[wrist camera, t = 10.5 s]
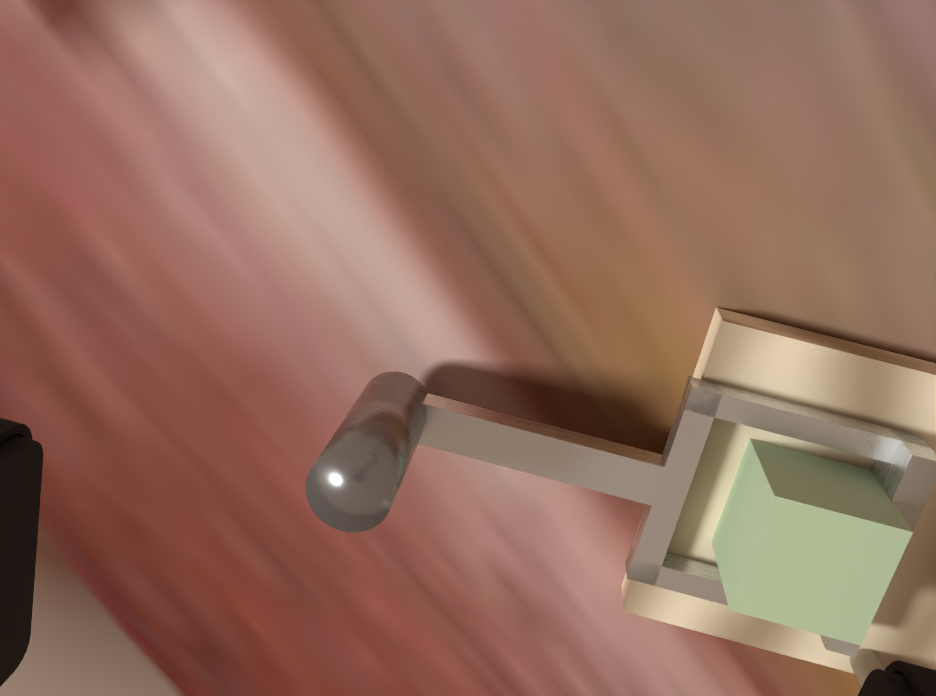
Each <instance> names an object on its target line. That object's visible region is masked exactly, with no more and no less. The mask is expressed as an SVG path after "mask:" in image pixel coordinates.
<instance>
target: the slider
mask: <svg viewBox="0 0 936 696" xmlns="http://www.w3.org/2000/svg"><path fill="white" fill-rule="evenodd" d="M714 418H718V419H722V420H726V421H730V422H734V423H738V424H741V425H745V426H749V427H753V428H757V429H761V430H765V431H768V432H772V433H776V434H780V435H784V436H788V437H791V438H795V439H799V440H803V441H807V442H811V443H815V444H818V445H822V446H826V447H830V448H834V449H838V450H841V451H845V452H849V453H853V454H857V455H861V456H865V457H868V458H872V459H876V463H875V465H874V467H873V470H872V473H873V475H874V476H875V478H876V479H877V481H878V482H879V483H880V485H881V486H882V488H883V489H884V491H885V492H886V494H887V495H888V496H889V498H890V499H891V501H892V502H893V504H894V505H895V507H896V508H897V510H898V511H899V512H900V514H901V515H902V517H903V518H904V520H905V521H906V523H907V524H908V525H909V527H910V528H911V530H912V531H913V530H914V528H915V526H916V524H917V522H918V520H919V517H920V515H921V513H922V511H923V509H924V507H925V504H926V502H927V500H928V498H929V496H930V494H931V491H932V489H933V487H934V485H935V483H936V453H935V452H934V451H933V450H932V449H931V447H930V446H929V445H928V444H927V443H926V442H925V441H924V440H923V438H922V437H921V436H919V435H915V434H911V433H907V432H903V431H899V430H895V429H892V428H888V427H884V426H880V425H876V424H872V423H868V422H864V421H861V420H857V419H853V418H849V417H845V416H841V415H837V414H833V413H830V412H826V411H822V410H818V409H814V408H810V407H806V406H802V405H799V404H795V403H791V402H787V401H783V400H779V399H775V398H771V397H768V396H764V395H760V394H756V393H752V392H748V391H744V390H740V389H737V388H733V387H729V386H725V385H721V384H717V383H713V382H709V381H706V380H702V379H698V378H694V377H690V376H689V377H688V380H687V383H686V386H685V389H684V392H683V395H682V398H681V401H680V404H679V407H678V410H677V413H676V416H675V419H674V421H673V424H672V427H671V430H670V433H669V436H668V439H667V442H666V445H665V448H664V451H663V454H658V453H654V452H650V451H646V450H643V449H639V448H635V447H631V446H627V445H624V444H620V443H616V442H612V441H608V440H605V439H601V438H597V437H593V436H589V435H586V434H582V433H578V432H574V431H570V430H566V429H563V428H559V427H555V426H551V425H547V424H544V423H540V422H536V421H532V420H528V419H525V418H521V417H517V416H513V415H509V414H505V413H502V412H498V411H494V410H490V409H486V408H483V407H479V406H475V405H471V404H467V403H464V402H460V401H456V400H452V399H448V398H444V397H441V396H437V395H433V394H429V393H427V391H426V389H425V388H424V386H423V385H422V384H421V383H420V382H419V381H418V380H416V379H415V378H413V377H412V376H410V375H408V374H405V373H401V372H386V373H383V374H380V375H378V376H376V377H374V378H373V379H372V380H371V381H370V382H369V383H368V384H367V385H366V387H365V388H364V390H363V391H362V393H361V395H360V396H359V398H358V399H357V401H356V402H355V404H354V405H353V407H352V408H351V410H350V411H349V413H348V414H347V416H346V417H345V419H344V420H343V422H342V423H341V425H340V426H339V428H338V429H337V431H336V432H335V434H334V436H333V437H332V439H331V440H330V442H329V443H328V445H327V446H326V448H325V449H324V451H323V452H322V454H321V455H320V457H319V458H318V460H317V461H316V463H315V464H314V466H313V467H312V469H311V471H310V472H309V475H308V477H307V481H306V496H307V500H308V503H309V505H310V507H311V508H312V510H313V512H314V513H315V514H316V515H317V517H319V518H320V519H321V520H322V521H323V522H324V523H326V524H327V525H329V526H331V527H333V528H335V529H338V530H341V531H345V532H361V531H366V530H369V529H371V528H373V527H375V526H377V525H378V524H379V523H381V522H382V521H383V519H384V518H385V517H386V516H387V514H388V512H389V510H390V508H391V505H392V503H393V501H394V498H395V496H396V494H397V491H398V489H399V487H400V484H401V482H402V480H403V477H404V475H405V473H406V470H407V468H408V466H409V463H410V461H411V459H412V456H413V454H414V452H415V449H416V447H417V445H418V444H421V445H425V446H429V447H432V448H436V449H440V450H444V451H447V452H451V453H455V454H459V455H463V456H466V457H470V458H474V459H478V460H481V461H485V462H489V463H493V464H497V465H500V466H504V467H508V468H512V469H515V470H519V471H523V472H527V473H530V474H534V475H538V476H542V477H546V478H549V479H553V480H557V481H561V482H564V483H568V484H572V485H576V486H579V487H583V488H587V489H591V490H595V491H598V492H602V493H606V494H610V495H613V496H617V497H621V498H625V499H629V500H632V501H636V502H640V503H644V504H645V507H644V510H643V513H642V516H641V519H640V522H639V525H638V528H637V531H636V534H635V537H634V540H633V543H632V546H631V549H630V552H629V555H628V558H627V561H626V574H627V579H630V580H634V581H638V582H642V583H645V584H649V585H653V586H656V587H660V588H664V589H668V590H671V591H675V592H679V593H682V594H686V595H690V596H694V597H697V598H701V599H705V600H708V601H712V602H716V603H720V604H723V605H727V606H728V603H727V599H726V595H725V592H724V588H723V584H722V580H721V576H720V573H719V569H718V567H717V566H713V565H709V564H706V563H702V562H698V561H694V560H691V559H687V558H683V557H679V556H676V555H672V554H668V553H666V552H667V550H668V547H669V544H670V541H671V538H672V535H673V533H674V530H675V527H676V524H677V521H678V519H679V516H680V513H681V510H682V507H683V504H684V502H685V499H686V496H687V493H688V490H689V488H690V485H691V482H692V479H693V476H694V473H695V471H696V468H697V465H698V462H699V459H700V456H701V454H702V451H703V448H704V445H705V442H706V440H707V437H708V434H709V431H710V428H711V425H712V423H713V420H714ZM820 637H821V639H822V642H823V644H824V647H825V649H826V650H829V651H833V652H836V653H840V654H844V655H848V656H851V657H855V656H856V654H857V652H858V650H859V648H860V645H856V644H853V643H849V642H845V641H841V640H838V639H834V638H830V637H827V636H823V635H820Z"/></svg>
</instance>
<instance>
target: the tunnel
mask: <svg viewBox="0 0 936 696" xmlns="http://www.w3.org/2000/svg"><path fill="white" fill-rule="evenodd" d="M693 377H694V378H698V379H702V380H706V381H709V382H713V383H717V384H721V385H725V386H729V387H733V388H737V389H740V390H744V391H748V392H752V393H756V394H760V395H764V396H768V397H771V398H775V399H779V400H783V401H787V402H791V403H795V404H799V405H802V406H806V407H810V408H814V409H818V410H822V411H826V412H830V413H833V414H837V415H841V416H845V417H849V418H853V419H857V420H861V421H864V422H868V423H872V424H876V425H880V426H884V427H888V428H892V429H895V430H899V431H903V432H907V433H911V434H915V435H919V436H921V437H922V438H923V440H924V441H925V442H926V443H927V444H928V445H929V446H930V447H931V449H932V450H933V451H934V452H935V453H936V363H933V362H929V361H925V360H921V359H917V358H913V357H909V356H905V355H901V354H898V353H894V352H890V351H886V350H882V349H878V348H874V347H870V346H866V345H862V344H858V343H854V342H850V341H846V340H842V339H839V338H835V337H831V336H827V335H823V334H819V333H815V332H811V331H807V330H803V329H799V328H795V327H791V326H787V325H783V324H780V323H776V322H772V321H768V320H764V319H760V318H756V317H752V316H748V315H744V314H740V313H736V312H732V311H728V310H724V309H721V308H717V307H716V309H715V312H714V315H713V318H712V321H711V324H710V327H709V330H708V333H707V336H706V339H705V342H704V345H703V348H702V351H701V353H700V356H699V359H698V362H697V365H696V368H695V371H694V374H693ZM749 439H754V440H758V441H762V442H765V443H769V444H773V445H777V446H781V447H785V448H789V449H792V450H796V451H800V452H804V453H808V454H812V455H815V456H819V457H823V458H827V459H831V460H835V461H838V462H842V463H846V464H850V465H854V466H858V467H861V468H865V469H869V470H871V472H872V470H873V467H874V465H875V463H876V459H872V458H868V457H865V456H861V455H857V454H853V453H849V452H845V451H841V450H838V449H834V448H830V447H826V446H822V445H818V444H815V443H811V442H807V441H803V440H799V439H795V438H791V437H788V436H784V435H780V434H776V433H772V432H768V431H765V430H761V429H757V428H753V427H749V426H745V425H741V424H738V423H734V422H730V421H726V420H722V419H718V418H714V420H713V423H712V425H711V428H710V431H709V434H708V437H707V440H706V442H705V445H704V448H703V451H702V454H701V456H700V459H699V462H698V465H697V468H696V471H695V473H694V476H693V479H692V482H691V485H690V488H689V490H688V493H687V496H686V499H685V502H684V504H683V507H682V510H681V513H680V516H679V519H678V521H677V524H676V527H675V530H674V533H673V535H672V538H671V541H670V544H669V547H668V550H667V552H666V553H668V554H672V555H676V556H679V557H683V558H687V559H691V560H694V561H698V562H702V563H706V564H709V565H713V566H717V567H718V565H717V561H716V557H715V553H714V550H713V546H712V542H711V541H712V538H713V535H714V533H715V530H716V527H717V525H718V522H719V519H720V517H721V514H722V511H723V509H724V506H725V503H726V501H727V498H728V495H729V492H730V490H731V487H732V484H733V482H734V479H735V476H736V474H737V471H738V468H739V466H740V463H741V460H742V458H743V455H744V452H745V450H746V447H747V444H748V442H749ZM622 598H623V611H625V612H628V613H632V614H636V615H640V616H643V617H647V618H651V619H654V620H658V621H662V622H665V623H669V624H673V625H676V626H680V627H684V628H688V629H691V630H695V631H699V632H702V633H706V634H710V635H713V636H717V637H721V638H724V639H728V640H732V641H736V642H739V643H743V644H747V645H750V646H754V647H758V648H761V649H765V650H769V651H772V652H776V653H780V654H784V655H787V656H791V657H795V658H798V659H802V660H806V661H809V662H813V663H817V664H820V665H824V666H828V667H832V668H835V669H839V670H843V671H846V672H850V673H854V674H855V676H856V678H857V680H858V683H859V685H860V687H861V688H862V686H863V684H864V681H865V679H866V678H867V676H868V675H869V673H870V672H871V671H873V670H874V669H881V670H885V669H886V667H887V666H888V665H889V664H891V663H892V662H893V661H898V660H900V661H904V662H908V663H911V664H915V665H919V666H922V667H926V668H930V669H934V670H936V483H935V485H934V487H933V489H932V491H931V494H930V496H929V498H928V500H927V502H926V504H925V507H924V509H923V511H922V513H921V515H920V517H919V520H918V522H917V524H916V526H915V528H914V530H913V534H912V536H911V538H910V540H909V542H908V544H907V547H906V549H905V551H904V553H903V555H902V557H901V560H900V562H899V564H898V566H897V568H896V570H895V573H894V575H893V577H892V579H891V581H890V583H889V586H888V588H887V590H886V592H885V594H884V596H883V599H882V601H881V603H880V605H879V607H878V609H877V612H876V614H875V616H874V618H873V620H872V622H871V625H870V627H869V629H868V631H867V633H866V635H865V638H864V640H863V642H862V644H861V646H860V648H859V650H858V652H857V654H856V656H855V657H851V656H848V655H844V654H840V653H836V652H833V651H829V650H826V649H825V647H824V644H823V642H822V639H821V637H820V635H819V634H816V633H812V632H808V631H804V630H801V629H797V628H793V627H790V626H786V625H782V624H778V623H775V622H771V621H767V620H764V619H760V618H756V617H752V616H749V615H745V614H741V613H738V612H734V611H730V610H729V607H728V606H727V605H723V604H720V603H716V602H712V601H708V600H705V599H701V598H697V597H694V596H690V595H686V594H682V593H679V592H675V591H671V590H668V589H664V588H660V587H656V586H653V585H649V584H645V583H642V582H638V581H634V580H630V579H627V574H625V577H624V580H623V583H622Z"/></svg>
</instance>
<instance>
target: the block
mask: <svg viewBox="0 0 936 696" xmlns="http://www.w3.org/2000/svg"><path fill="white" fill-rule="evenodd" d="M912 534H913V531H912V530H911V528H910V527H909V525H908V524H907V523H906V521H905V520H904V518H903V517H902V515H901V514H900V512H899V511H898V510H897V508H896V507H895V505H894V504H893V502H892V501H891V499H890V498H889V496H888V495H887V494H886V492H885V491H884V489H883V488H882V486H881V485H880V483H879V482H878V481H877V479H876V478H875V476H874V475H873V473H872V472H871V470H869V469H865V468H861V467H858V466H854V465H850V464H846V463H842V462H838V461H835V460H831V459H827V458H823V457H819V456H815V455H812V454H808V453H804V452H800V451H796V450H792V449H789V448H785V447H781V446H777V445H773V444H769V443H765V442H762V441H758V440H754V439H749V442H748V444H747V447H746V450H745V452H744V455H743V458H742V460H741V463H740V466H739V468H738V471H737V474H736V476H735V479H734V482H733V484H732V487H731V490H730V492H729V495H728V498H727V501H726V503H725V506H724V509H723V511H722V514H721V517H720V519H719V522H718V525H717V527H716V530H715V533H714V535H713V538H712V541H711V542H712V546H713V550H714V553H715V557H716V561H717V565H718V569H719V573H720V576H721V580H722V584H723V588H724V592H725V595H726V599H727V603H728V607H729V610H730V611H734V612H738V613H741V614H745V615H749V616H752V617H756V618H760V619H764V620H767V621H771V622H775V623H778V624H782V625H786V626H790V627H793V628H797V629H801V630H804V631H808V632H812V633H816V634H819V635H823V636H827V637H830V638H834V639H838V640H841V641H845V642H849V643H853V644H856V645H860V646H861V644H862V642H863V640H864V638H865V635H866V633H867V631H868V629H869V627H870V625H871V622H872V620H873V618H874V616H875V614H876V612H877V609H878V607H879V605H880V603H881V601H882V599H883V596H884V594H885V592H886V590H887V588H888V586H889V583H890V581H891V579H892V577H893V575H894V573H895V570H896V568H897V566H898V564H899V562H900V560H901V557H902V555H903V553H904V551H905V549H906V547H907V544H908V542H909V540H910V538H911V536H912Z"/></svg>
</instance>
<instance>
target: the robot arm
mask: <svg viewBox="0 0 936 696" xmlns="http://www.w3.org/2000/svg"><path fill="white" fill-rule="evenodd" d="M42 465H43V449H42V446H41V444H40V443H39V442H37V441H34V440H32V434H31V432H30V429H29V428H28V427H27V426H26V425H25V424H21V423H17V422H14V421H10V420H6V419H2V418H0V686H1V685H2V684H3V683H4V682H5V681H6V680H7V679H8V678H9V677H10V675H11V674H12V673H13V672H14V671H15V670H16V668H17V667H18V666H19V664H20V662H21V661H22V659H23V657H24V655H25V653H26V650H27V647H28V644H29V640H30V634H31V620H32V605H33V592H34V578H35V564H36V549H37V535H38V521H39V507H40V493H41V479H42ZM858 696H936V670H934V669H930V668H926V667H922V666H919V665H915V664H911V663H908V662H904V661H900V660H898V661H893V662H892V663H891V664H889V665H888V666H887V667H886V669H885V670H881V669H874V670H873V671H871V672H870V673H869V675H868V676H867V678H866V679H865V681H864V684H863V686H862V688H861V690H860V692H859V694H858Z"/></svg>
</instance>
